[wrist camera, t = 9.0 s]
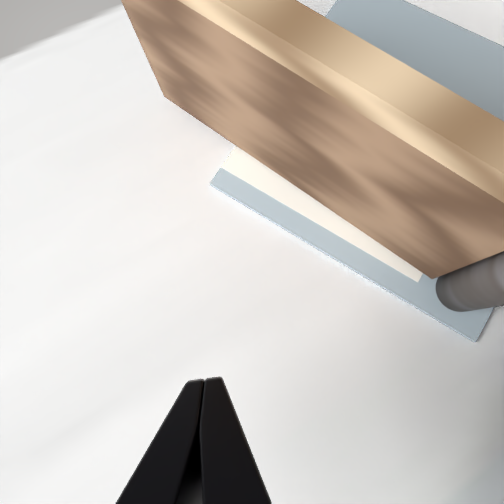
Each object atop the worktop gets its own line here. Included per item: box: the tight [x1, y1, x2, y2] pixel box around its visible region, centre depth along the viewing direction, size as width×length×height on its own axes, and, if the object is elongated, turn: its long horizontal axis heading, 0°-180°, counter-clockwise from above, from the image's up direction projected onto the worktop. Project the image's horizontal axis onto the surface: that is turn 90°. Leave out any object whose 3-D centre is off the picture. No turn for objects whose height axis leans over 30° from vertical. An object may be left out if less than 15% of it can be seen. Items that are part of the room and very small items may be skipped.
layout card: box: [210, 0, 504, 342], centre depth 24 cm, size 17×17×1 cm
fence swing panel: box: [121, 0, 504, 279], centre depth 18 cm, size 19×1×11 cm, turn 53°
